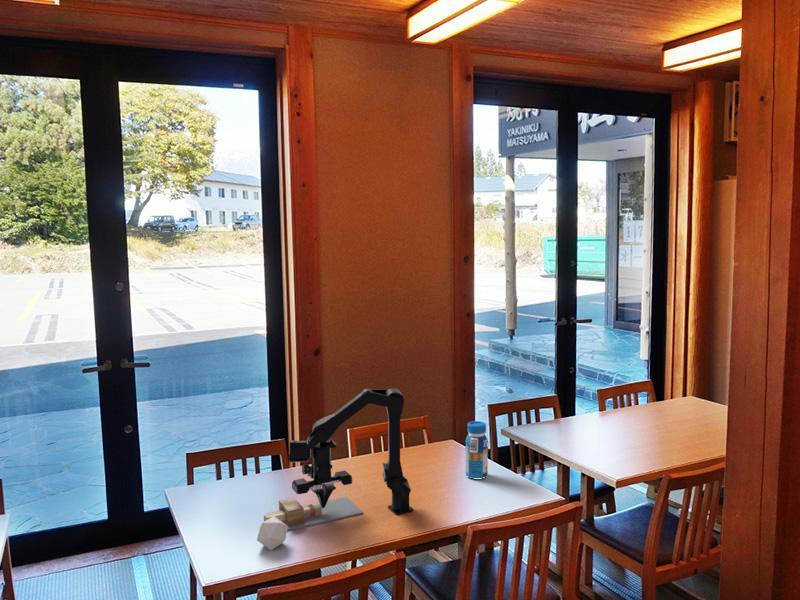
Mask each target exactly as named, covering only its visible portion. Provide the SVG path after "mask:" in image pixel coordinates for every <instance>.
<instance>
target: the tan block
mask: <svg viewBox="0 0 800 600" xmlns="http://www.w3.org/2000/svg"><path fill="white" fill-rule="evenodd" d="M302 506H303V505H302V504H300V502H299V501H298V500H297V499H296V498H295V497H290V498H284V499H280V500H278V509H279V510H278V511H283V510H284V511H285V517H286V524H287V526H288V527H290V526H295V525H299V524H304V508H303V507H302Z"/></svg>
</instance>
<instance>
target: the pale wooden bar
mask: <svg viewBox="0 0 800 600" xmlns="http://www.w3.org/2000/svg"><path fill="white" fill-rule="evenodd" d="M315 503H316V504H314V503H310V504H311V505H309V504H306V505H307V506H305V505H301V506H302V507H303V508H304V518H309V517H313V516H318V515H322V506H321V505H320V504H319V502H315ZM277 511H278V512H276V511H273V512H274V513H272V512H268V513H269V514H267V513H264V514H263V522H265V521H266V520H268V519H270V518H271V517H273V516H274V517H276V518H277V519H279V520H280V521H281V522H283V523H286V517H285V511H284V510H283V511H279V510H277Z"/></svg>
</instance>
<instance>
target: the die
mask: <svg viewBox="0 0 800 600" xmlns="http://www.w3.org/2000/svg"><path fill="white" fill-rule="evenodd" d="M287 528H288V526H287V525H285V524H284V523H283V522H281V521H280V520H279V519H277V518H276V517H274V516H273V517H271V518H270V519H268V520H266V521H265V522H264V521H263V522H261V524H260V526H259V529H258V533H257V537H256V541H257V542H258V543H260V544H261V545H263V546H264V547H265V548H267V549H268V550H269V551H273V550H274V549H276V548H277V547H279V546H281V545H282V544H284V542H285V541H286V538H287V532H288V531H287Z"/></svg>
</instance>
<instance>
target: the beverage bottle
mask: <svg viewBox="0 0 800 600" xmlns="http://www.w3.org/2000/svg"><path fill="white" fill-rule="evenodd" d="M466 429H467V433H468V434H467V436H466V438H465V448H464V451H465V472H464V473H465V474H466V475H465V477H466V476H468V477H471V478H483V477H486V476H487V475H489V473H488V471H489V470H488V468H489V467H488V465H489V463H488V459H489V458H488V457H489V453H488V452H489V446H488V444H489V441H488V438H487V436H486V433H487V424H486V423H485V422H484V421H480V420H477V421H476V420H475V421H469V422H468V423H467V428H466ZM468 477H467V478H468ZM487 477H488V476H487ZM487 477H486V478H487Z"/></svg>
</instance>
